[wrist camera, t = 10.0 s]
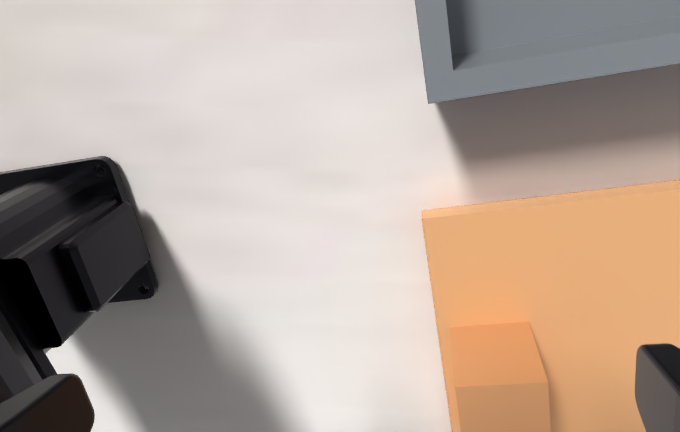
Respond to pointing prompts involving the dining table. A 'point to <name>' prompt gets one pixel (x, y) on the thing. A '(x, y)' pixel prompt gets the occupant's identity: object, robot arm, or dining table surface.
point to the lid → (553, 305)
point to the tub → (540, 42)
